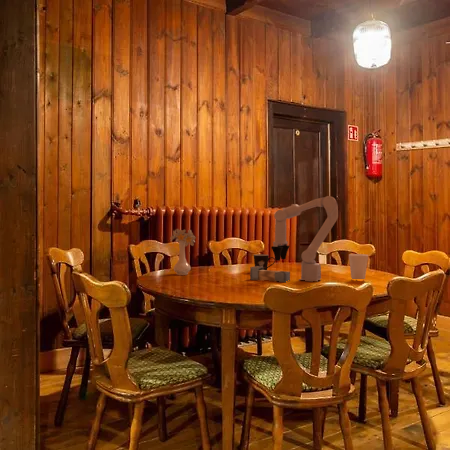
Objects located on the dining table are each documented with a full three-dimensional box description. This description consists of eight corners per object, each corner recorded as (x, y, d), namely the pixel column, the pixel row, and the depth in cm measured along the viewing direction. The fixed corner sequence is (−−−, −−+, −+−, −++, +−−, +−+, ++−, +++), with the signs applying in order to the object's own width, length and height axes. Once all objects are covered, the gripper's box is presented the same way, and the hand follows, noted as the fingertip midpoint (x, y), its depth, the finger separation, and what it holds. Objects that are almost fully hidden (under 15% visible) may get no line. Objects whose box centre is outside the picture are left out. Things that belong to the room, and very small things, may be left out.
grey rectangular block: (263, 278, 246) (263, 266, 246) (257, 280, 240) (257, 267, 240) (255, 278, 248) (255, 265, 248) (250, 279, 242) (250, 267, 242)
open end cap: (289, 280, 239) (290, 271, 239) (284, 282, 233) (285, 273, 233) (279, 280, 242) (279, 271, 242) (274, 281, 236) (274, 272, 236)
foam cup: (363, 282, 234) (363, 256, 234) (345, 280, 240) (345, 255, 240) (370, 280, 242) (370, 254, 242) (353, 278, 248) (353, 253, 247)
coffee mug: (251, 272, 269) (251, 255, 269) (257, 271, 277) (257, 254, 277) (270, 274, 264) (270, 256, 264) (275, 272, 272) (276, 254, 271)
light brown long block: (281, 281, 240) (281, 271, 240) (278, 281, 237) (278, 271, 237) (259, 279, 245) (259, 269, 245) (256, 280, 242) (256, 270, 242)
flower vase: (183, 277, 251) (183, 229, 250) (164, 273, 264) (164, 228, 264) (203, 275, 259) (203, 229, 258) (183, 271, 273) (183, 228, 272)
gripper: (278, 232, 253) (278, 258, 253) (267, 233, 240) (267, 260, 240) (291, 233, 249) (291, 258, 250) (280, 234, 237) (280, 261, 237)
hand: (280, 259), depth 245 cm, fingers open, 7 cm apart
